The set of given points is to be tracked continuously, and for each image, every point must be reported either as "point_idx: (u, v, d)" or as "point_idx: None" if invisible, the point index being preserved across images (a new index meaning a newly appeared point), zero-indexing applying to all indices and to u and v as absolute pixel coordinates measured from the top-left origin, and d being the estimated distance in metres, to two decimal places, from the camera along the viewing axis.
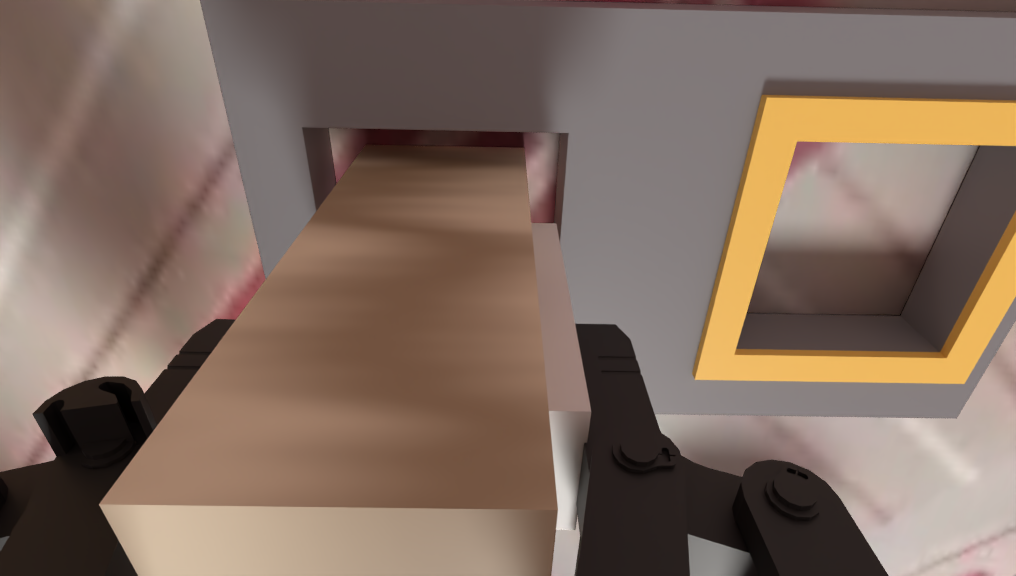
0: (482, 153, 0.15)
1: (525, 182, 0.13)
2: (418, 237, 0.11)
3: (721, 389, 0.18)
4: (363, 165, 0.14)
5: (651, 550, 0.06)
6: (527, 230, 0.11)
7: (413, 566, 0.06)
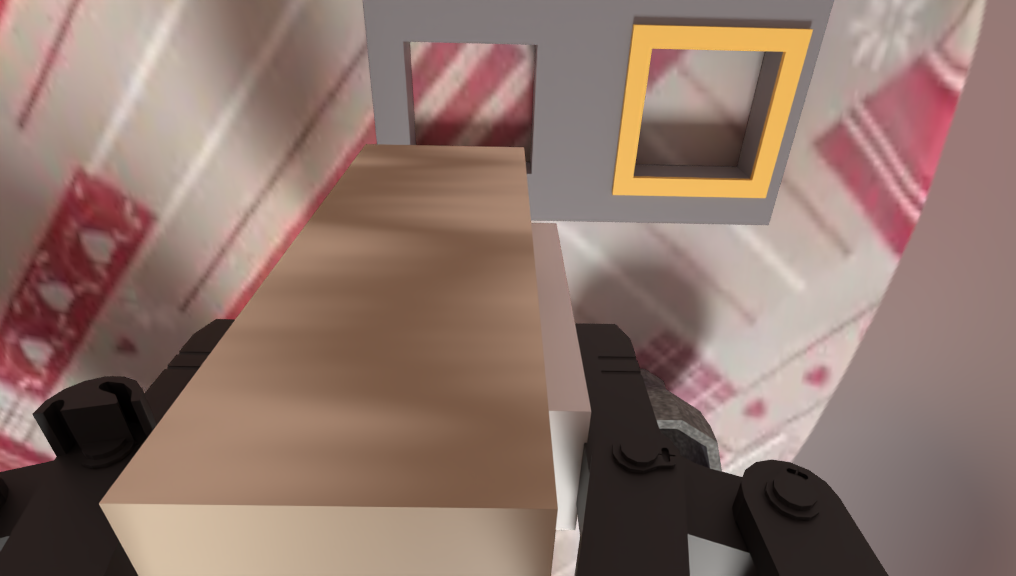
0: (482, 153, 0.15)
1: (525, 182, 0.13)
2: (418, 237, 0.11)
3: (629, 204, 0.31)
4: (363, 165, 0.14)
5: (651, 550, 0.06)
6: (527, 230, 0.11)
7: (414, 565, 0.06)
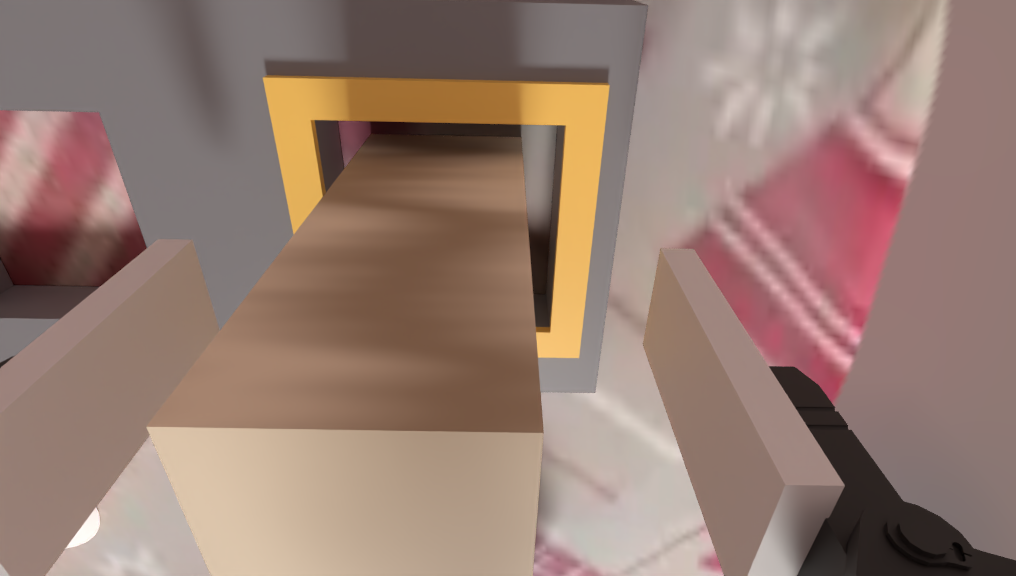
0: (481, 142, 0.16)
1: (521, 167, 0.14)
2: (420, 215, 0.11)
3: None
4: (369, 152, 0.15)
5: None
6: (522, 209, 0.12)
7: (417, 487, 0.07)
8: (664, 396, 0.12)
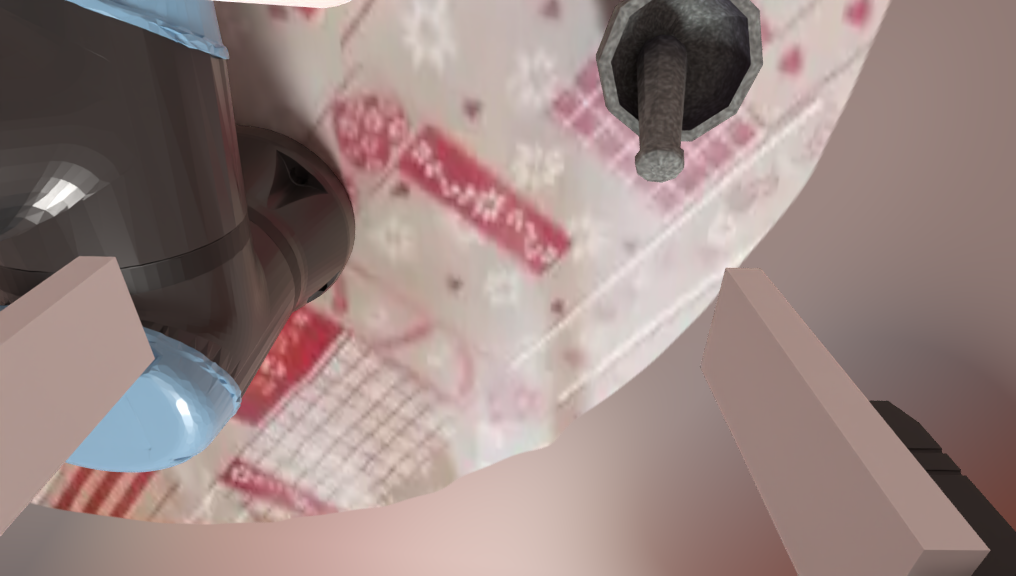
0: None
1: None
2: None
3: None
4: None
5: None
6: None
7: None
8: (732, 426, 0.11)
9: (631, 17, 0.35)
